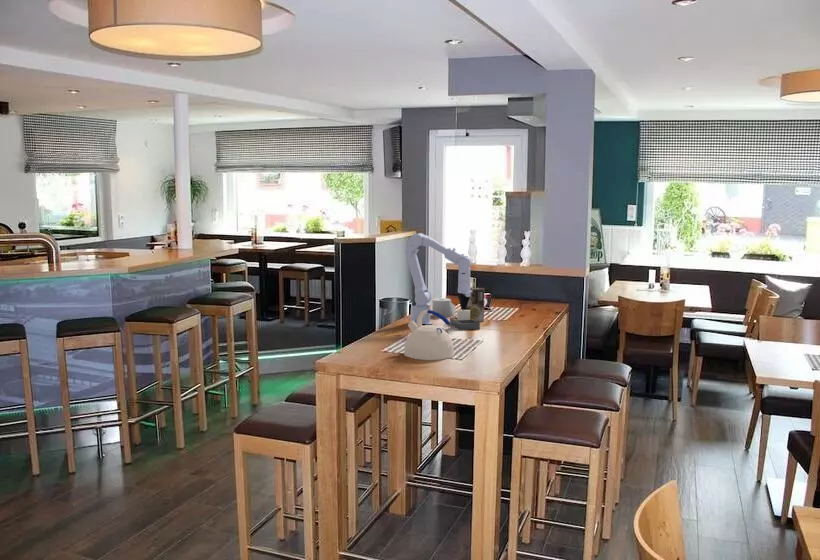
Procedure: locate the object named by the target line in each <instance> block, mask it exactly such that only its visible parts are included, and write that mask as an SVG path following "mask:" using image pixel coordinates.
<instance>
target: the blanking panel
mask: <svg viewBox="0 0 820 560" xmlns="http://www.w3.org/2000/svg"><path fill="white" fill-rule="evenodd" d="M456 312H457V313H456V317H457V320H470V310H461V309H460V310H459V309H458V310H457V311H456Z"/></svg>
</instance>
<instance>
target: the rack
mask: <svg viewBox="0 0 820 560" xmlns="http://www.w3.org/2000/svg"><path fill="white" fill-rule="evenodd" d="M449 322H450V323H451V324H450V325H451V326H453V327H454V326H455V327H454V328H456V329H457V328H458V329H457V330H458V331H466V330H467V329H468V330H469V329H473V330H480V329H481V326H480V325H481V324H480V321H476V320H474V319H473V318H470V320H457V316H454V317H449ZM463 329H464V330H463ZM465 329H466V330H465ZM468 330H467V331H468Z"/></svg>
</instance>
